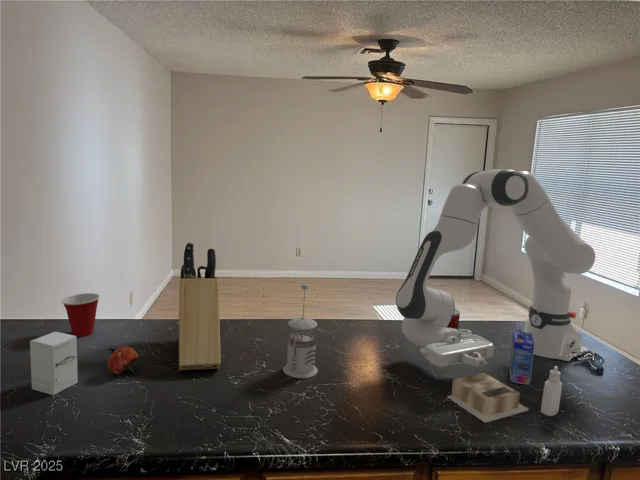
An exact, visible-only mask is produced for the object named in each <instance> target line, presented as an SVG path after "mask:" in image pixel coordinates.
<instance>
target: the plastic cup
mask: <svg viewBox="0 0 640 480" xmlns="http://www.w3.org/2000/svg"><path fill="white" fill-rule="evenodd" d="M100 297H101V296H100V294H99V293H94V292H93V293H92V292H91V293H90V292H87V293H85V292H84V293H79V294H73V295H70V296H67V297H64V298H62V300H61V303H62V304H63V306H64V308H65V311H66V315H67V318H68V323H69V325H70V326H69V327H70V329H71V333H72V335H74V336H76V337H80V338H81V337H88V336H90V335H92V334H93V332H94V328H95V327H94V326H95V323H96V317H97V308H98V303H99V299H100Z"/></svg>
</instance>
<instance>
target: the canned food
mask: <svg viewBox="0 0 640 480" xmlns="http://www.w3.org/2000/svg"><path fill="white" fill-rule="evenodd" d="M460 314H461V312H460V310H458V309H456V308H455V310H454V314H453V316H452V319H451V321H450V323H449V325H448V327H447V328H453V329H459V325H460V324H459V323H460V316H461V315H460Z"/></svg>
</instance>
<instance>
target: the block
mask: <svg viewBox="0 0 640 480" xmlns="http://www.w3.org/2000/svg"><path fill="white" fill-rule="evenodd" d="M451 384H452V386H451V395H454V396H456V397H457V398H459V399H460V400H462V401H463V402H465V403H466V404H468V405H469V406H471V407H473V408H474V409H476V410H477V411H479V412H480V413H482V414H483V415H485V416H490V415H493V414H497V413H501V412H504V411H508V410H511V409H515V408H518V404H520V397H521V396H520V395H521V392H519V391H517V390H515V389H513V388H512V387H510V386H508V385H507V384H505V383H503V382H501V381H499V380H497V379H496V378H494V377H492V376H491V375H488V374H487V373H485V372H480V373H477V374H476V373H475V374H472V375H467V376H462V377H459V378H458V377H457V378H454V379H452V383H451Z"/></svg>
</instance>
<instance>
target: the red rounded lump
mask: <svg viewBox="0 0 640 480" xmlns="http://www.w3.org/2000/svg"><path fill="white" fill-rule="evenodd" d="M108 351H111V355H110V356H109V357H108V358H107V367H108V369H109V371H110V373H112V374H114V375H118V376H119V375H121V374H122V373H123V372H124V371H126V370H128V369H129V371H131V372H132V373H133V374H134V375H135V376H137V373H135V371H134V370H133V369H132V368H131V366H132V365H133V364H134V363H135V362H136V361H137V360H138V357H139V354H138V352H137V351H135V349H133V347H130V346H121V347H119V348H117V349H113V347H110V348H109V349H108Z"/></svg>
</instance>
